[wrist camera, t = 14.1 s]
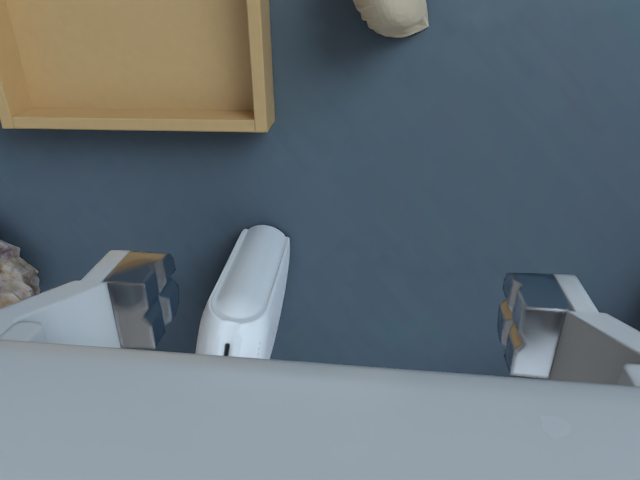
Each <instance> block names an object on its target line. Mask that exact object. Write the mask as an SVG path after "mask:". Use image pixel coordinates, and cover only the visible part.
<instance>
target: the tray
mask: <svg viewBox="0 0 640 480" xmlns="http://www.w3.org/2000/svg"><path fill="white" fill-rule="evenodd" d="M0 120H1V124H2V127H3V129H14V128H16V129H75V130H140V131H205V132H264V133H267V132H268V131H269V129H270V128H271V126H272V124H273V123H274V122H275V112H274V92H273V72H272V52H271V32H270V12H269V0H0Z"/></svg>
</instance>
